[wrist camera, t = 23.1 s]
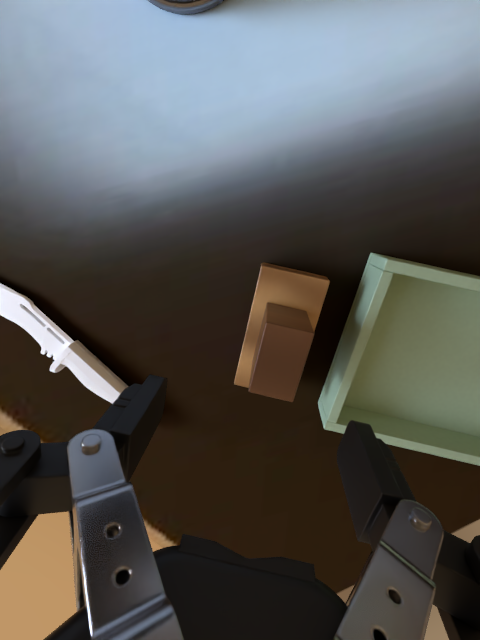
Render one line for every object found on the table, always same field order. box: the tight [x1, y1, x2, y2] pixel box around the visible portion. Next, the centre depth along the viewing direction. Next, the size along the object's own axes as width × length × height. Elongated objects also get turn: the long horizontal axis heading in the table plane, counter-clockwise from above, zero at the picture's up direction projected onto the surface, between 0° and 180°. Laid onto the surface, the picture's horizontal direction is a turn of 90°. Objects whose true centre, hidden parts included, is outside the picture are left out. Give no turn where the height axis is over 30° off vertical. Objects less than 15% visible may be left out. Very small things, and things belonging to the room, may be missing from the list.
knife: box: [0, 283, 129, 404], centre depth 28 cm, size 30×2×8 cm
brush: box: [234, 263, 330, 402], centre depth 22 cm, size 10×5×8 cm, turn 168°
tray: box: [318, 253, 480, 466], centre depth 24 cm, size 14×20×4 cm
